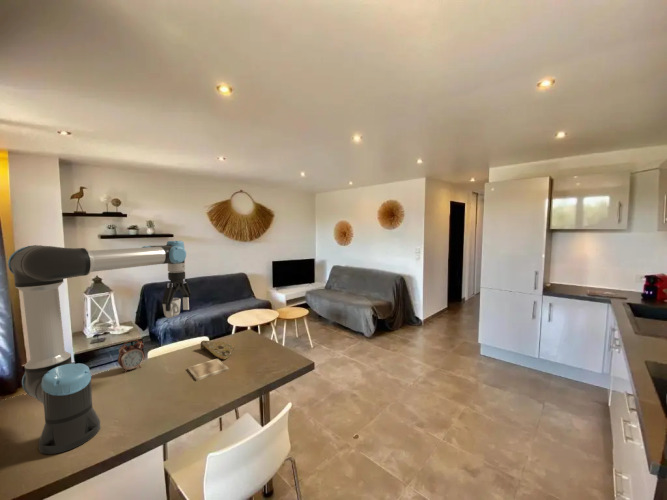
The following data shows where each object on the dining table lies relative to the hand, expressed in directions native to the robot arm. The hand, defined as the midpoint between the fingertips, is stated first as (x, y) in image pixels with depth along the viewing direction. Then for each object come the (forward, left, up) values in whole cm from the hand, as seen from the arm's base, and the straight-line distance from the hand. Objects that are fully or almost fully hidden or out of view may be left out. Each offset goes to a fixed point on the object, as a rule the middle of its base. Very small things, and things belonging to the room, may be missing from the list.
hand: (178, 313), depth 142 cm
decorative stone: (+22, +5, -30) cm, 38 cm away
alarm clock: (-18, +15, -28) cm, 37 cm away
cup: (-3, -3, 0) cm, 4 cm away
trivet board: (+9, -12, -28) cm, 32 cm away
